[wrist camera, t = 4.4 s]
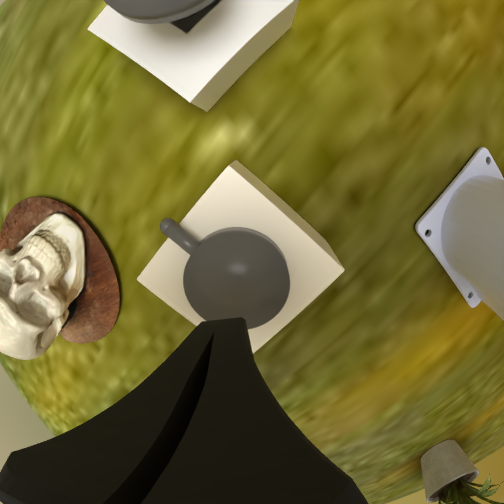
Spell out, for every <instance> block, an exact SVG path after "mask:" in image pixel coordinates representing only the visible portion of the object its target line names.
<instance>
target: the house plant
mask: <svg viewBox="0 0 504 504" xmlns="http://www.w3.org/2000/svg"><path fill="white" fill-rule="evenodd" d="M420 462H421V468H422V474H423V480H424V487H425V494H426V501H427V502H436V501H439V504H480V503H478V502H476V501H475V500H473V499H472V498H470V496H477V497H479V498H480V499H482V500H485V501H487V502H489V503H491V504H504V503H499V502H495V501H492V500H489V499H487V498H484V497H488V496H491V495H493V494H494V493H495V492H496V491H497V490H498V488H499V487H498V488H496V489H493V490H490V491H487V490H488V489H490V488H491V487H493V486H496V485H490V484H491V479H490V475H489V478H488V479H487V481H486V482H485V484H484V485H480V484H475V483H471V482H472V481H473V480H474V479H475V478H476V477H477V476H478V474H479V471H478V469H477V468H476V467H475V466H474V464H473V463H472V462H471V460H470V459H469V458H468V456H467V455H466V454H465V453H464V451H463V450H462V449H461V447H460V446H459V445H458V444H457V442H456V441H455V440H446V441H444V442H441V443H439V444H437V445H435V446H434V447H432V448H431V449H429V450H428V451H427V452H426V453H425V454H424V455H423V456H422V457H421V459H420ZM469 484H470V485H474V486H478V487H482V488H481V489H480V490H478V489H476V488H474V487H471V486H469ZM497 485H498V484H497ZM488 487H490V488H488ZM487 488H488V489H487ZM485 489H486V490H485Z"/></svg>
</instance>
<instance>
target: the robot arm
mask: <svg viewBox="0 0 504 504" xmlns="http://www.w3.org/2000/svg"><path fill="white" fill-rule="evenodd" d="M486 158H487V163H486ZM415 229H416V232H417V233H418V234H419V236H420V237H421V238H422V239H423V241H424V242H425V243H426V245H427V246H428V247H429V249H430V250H431V251H432V253H433V254H434V255H435V257H436V258H437V259H438V261H439V262H440V264H441V265H442V266H443V268H444V269H445V271H446V272H447V273H448V275H449V276H450V278H451V279H452V281H453V282H454V284H455V285H456V287H457V288H458V290H459V291H460V293H461V294H462V296H463V297H464V299H465V300H466V302H467V303H468V305H469V306H470V307H471V308H474V307H476V306H477V305H478V304H479V303H480V302H481V300H482V301H483V302H484V303H485V304H486V305H487V306H488V307H489V308H490V309H492V310H493V311H494V312H495V313H496V314H497V315H498V316H499V317H500V318H501V319H502V320H503V321H504V178H503V176H502V174H501V172H500V170H499V169H498V167H497V165H496V163H495V161H494V160H493V158H492V156H491V154H490V153H489V151H488V150H487V148H484V147H480V148H479V149H478V150H477V151H476V153H475V154H474V155H473V157H472V158H471V159H470V160H469V162H468V163H467V164H466V165H465V167H464V168H463V169H462V170H461V172H460V173H459V174H458V175H457V177H456V178H455V179H454V180H453V181H452V183H451V184H450V185H449V186H448V187H447V188H446V190H445V191H444V192H443V193H442V194H441V195H440V197H439V198H438V199H437V200H436V201H435V202H434V204H433V205H432V206H431V207H430V208H429V209H428V210H427V211H426V213H425V214H424V215H423V216H422V217H421V218H420V219H419V220H418V222H417V223H416V226H415ZM426 230H429V233H428V234H427V235H425V232H426ZM469 293H470V294H469ZM0 501H1V502H2V503H3V504H368V502H367V501H366V499H365V497H364V496H363V494H362V493H361V491H360V490H359V489H358V487H357V486H356V484H355V482H354V481H353V479H352V478H351V477H350V476H348V475H347V474H346V473H345V472H343V471H342V470H341V469H340V468H338V467H337V466H336V465H335V464H334V463H333V462H331V461H330V460H329V459H328V458H327V457H326V456H325V455H324V454H323V453H321V452H320V451H319V450H318V449H317V448H316V447H315V446H314V445H313V444H312V443H311V442H310V441H309V440H308V439H307V437H306V436H305V435H304V434H303V433H302V432H301V431H300V429H299V428H298V427H297V426H296V425H295V424H294V422H293V421H292V420H291V419H290V418H289V417H288V415H287V414H286V413H285V411H284V410H283V409H282V407H281V406H280V405H279V403H278V402H277V400H276V399H275V397H274V396H273V394H272V393H271V391H270V390H269V388H268V386H267V385H266V383H265V381H264V379H263V377H262V376H261V374H260V372H259V370H258V368H257V366H256V363H255V361H254V357H253V352H252V347H251V343H250V338H249V333H248V329H247V324H246V320H245V319H244V318H242V317H237V318H228V319H220V320H211V321H202V322H201V323H200V324H199V325H198V326H197V327H196V328H195V329H194V330H193V331H192V332H191V333H190V334H189V336H188V337H187V338H186V339H185V340H184V341H183V342H182V343H181V344H180V345H179V347H178V348H177V349H176V350H175V351H174V352H173V353H172V354H171V355H170V356H169V357H168V358H167V359H166V360H165V361H164V362H163V363H162V364H161V365H160V366H159V367H158V368H157V369H156V370H155V371H154V372H153V373H152V374H151V375H150V376H149V377H147V378H146V379H145V380H144V381H143V382H142V383H141V384H140V385H138V386H137V387H136V388H135V389H134V390H132V391H131V392H130V393H129V394H127V395H126V396H125V397H123V398H122V399H121V400H119V401H118V402H117V403H115V404H114V405H112V406H111V407H109V408H108V409H106V410H104V411H103V412H101V413H100V414H98V415H96V416H95V417H93V418H92V419H90V420H88V421H87V422H85V423H83V424H81V425H79V426H77V427H75V428H73V429H72V430H70V431H67V432H65V433H63V434H61V435H59V436H56V437H54V438H52V439H50V440H47V441H44V442H41V443H38V444H36V445H33V446H30V447H27V448H24V449H21V450H18V451H14V452H12V453H11V454H10V456H9V457H8V459H7V461H6V463H5V464H4V466H3V468H2V470H1V472H0Z"/></svg>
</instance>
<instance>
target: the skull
mask: <svg viewBox="0 0 504 504" xmlns="http://www.w3.org/2000/svg"><path fill="white" fill-rule="evenodd" d="M28 211H29V212H28ZM114 270H115V268H113V265H112V263H111V260H110V258H109V255H108V253H107V251H106V250H105V248H104V246H103V245H102V243H101V241H100V240H99V238H98V236H97V235H96V234H95V232H94V231H93V230H92V228H91V227H90V226H89V225H88V224H87V223H86V221H85V220H84V219H83V218H82V217H81V216H79V214H78V213H77V212H76V211H73V210H72V208H70V207H68V206H67V205H65V204H63V203H60V202H58V201H57V200H53V199H50V198H44V197H32V198H28V199H25V200H23V201H21V202H19V203H18V204H16V205H15V206H14V207H13V208H12V209H11V210H10V212H9V213H8V215H7V217H6V219H5V221H4V223H3V226H2V231H1V233H0V352H2V353H4V354H6V355H8V356H11V357H14V358H18V359H23V360H28V359H34V358H36V357H38V356H40V355H42V354H43V353H44V352H45V351H46V350H47V349H48V348H49V347H50V345H51V344H52V343H53V341H54V339H55V338H56V337H57V336H58V334H59V333H60V335H62V337H64V339H66V340H67V341H70V342H74V343H89V342H94V341H97V340H99V339H101V338H103V337H104V336H105V335H106V334H108V333H109V332H110V330H111V329H112V328H113V326H114V324H115V322H116V319H117V316H118V312H119V304H120V301H119V299H120V298H119V295H120V294H119V286H118V282H117V277H116V274H115V272H114Z"/></svg>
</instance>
